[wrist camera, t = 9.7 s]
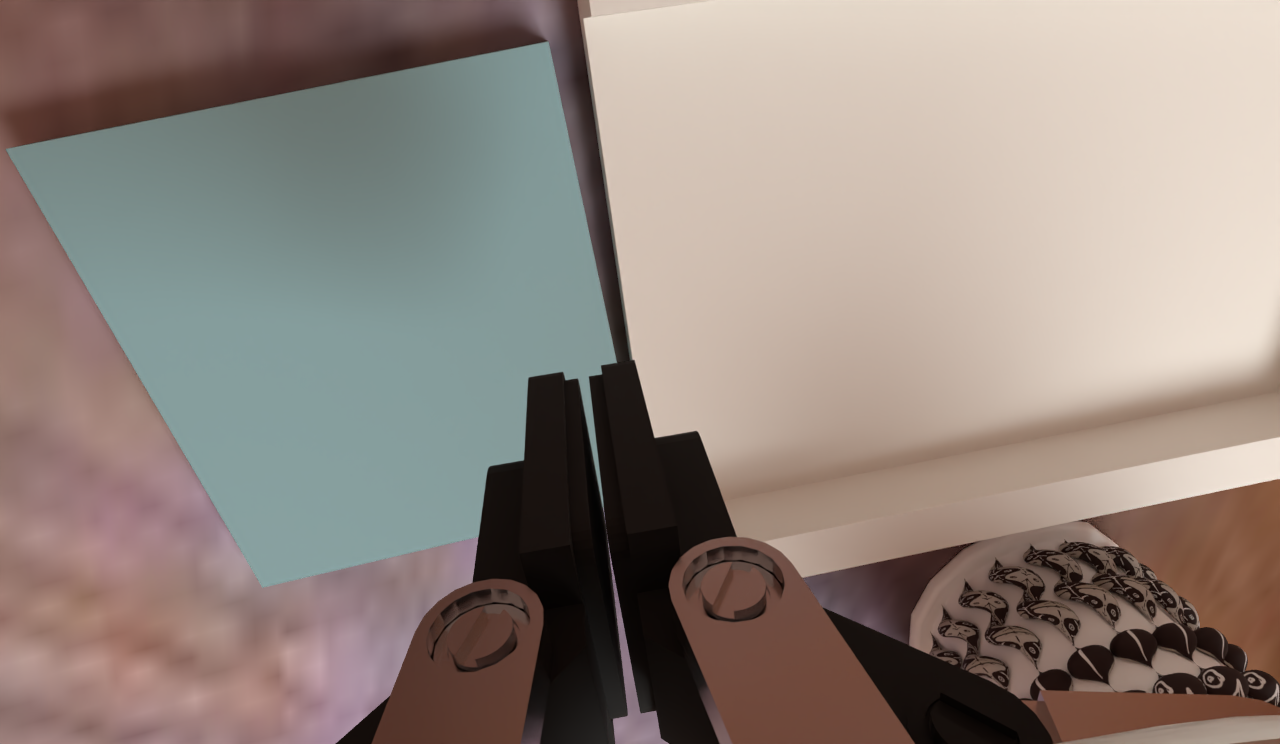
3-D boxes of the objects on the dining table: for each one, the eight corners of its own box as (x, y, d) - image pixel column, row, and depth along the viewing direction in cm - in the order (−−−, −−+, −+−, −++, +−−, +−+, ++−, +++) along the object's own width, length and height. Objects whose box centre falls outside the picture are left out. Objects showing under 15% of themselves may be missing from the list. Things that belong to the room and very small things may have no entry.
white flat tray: (566, -67, 14) (576, -90, 12) (1487, -186, 16) (1681, -230, 13) (655, 534, 22) (673, 604, 19) (1275, 410, 23) (1372, 459, 21)
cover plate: (54, 138, 15) (5, 149, 14) (546, 41, 16) (548, 41, 14) (280, 549, 20) (262, 587, 19) (637, 466, 21) (645, 497, 20)
